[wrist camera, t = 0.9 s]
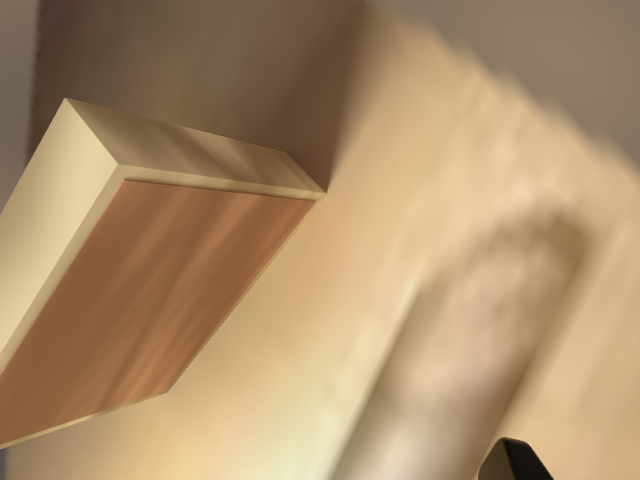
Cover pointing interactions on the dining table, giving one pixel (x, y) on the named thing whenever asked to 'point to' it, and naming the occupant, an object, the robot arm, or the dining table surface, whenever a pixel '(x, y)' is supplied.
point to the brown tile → (129, 259)
